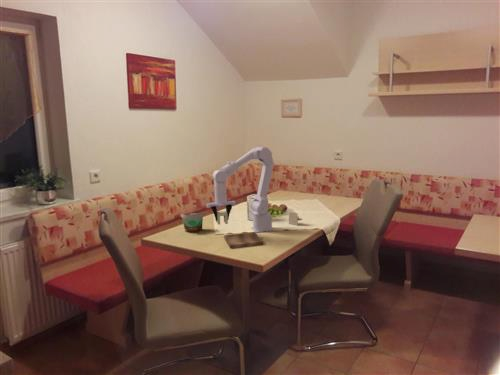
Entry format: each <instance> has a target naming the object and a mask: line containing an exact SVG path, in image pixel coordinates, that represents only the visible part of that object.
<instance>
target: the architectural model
mask: <svg viewBox="0 0 500 375" xmlns="http://www.w3.org/2000/svg"><path fill="white" fill-rule="evenodd" d="M302 220H303V218H301V217H300V216H298V213H297V212H296V211H295V212H293V211H288V224H289V225H291V226H297V227H298V225H299V224H298V223H299V222H300V221H302Z"/></svg>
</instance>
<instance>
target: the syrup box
mask: <svg viewBox="0 0 500 375" xmlns="http://www.w3.org/2000/svg"><path fill="white" fill-rule="evenodd" d="M256 195H257V193H253V194H250V195H247V196H246V201H247V202H246V203H247V204H246V205H247V206H246V207H247V208H246V210H247V221H251V222H253V209H252V208H251V204H252V202H253V200H254V197H255V196H256Z"/></svg>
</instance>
